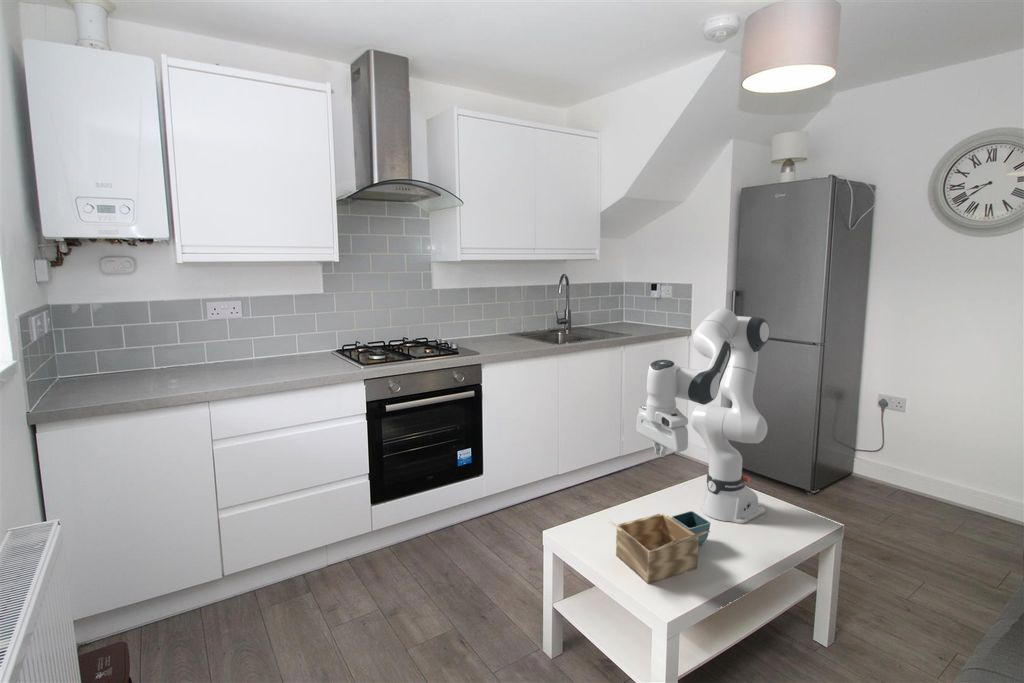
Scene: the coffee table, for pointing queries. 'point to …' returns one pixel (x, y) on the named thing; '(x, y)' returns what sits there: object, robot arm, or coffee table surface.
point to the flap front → (622, 531)
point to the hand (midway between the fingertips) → (660, 455)
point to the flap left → (682, 540)
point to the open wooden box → (651, 537)
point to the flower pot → (694, 524)
